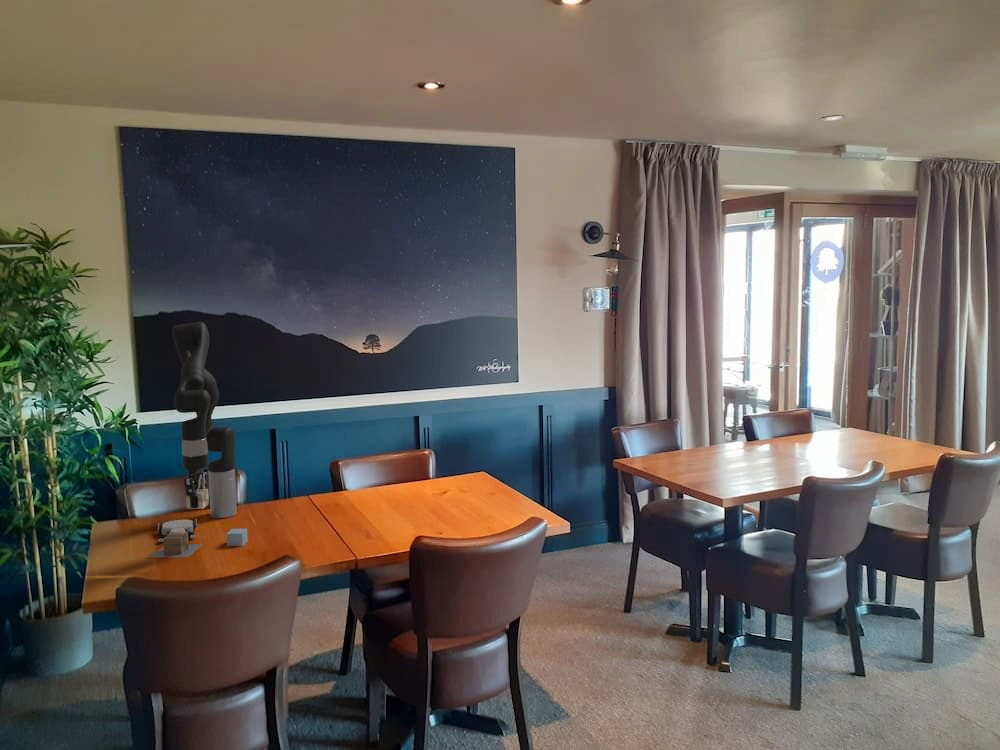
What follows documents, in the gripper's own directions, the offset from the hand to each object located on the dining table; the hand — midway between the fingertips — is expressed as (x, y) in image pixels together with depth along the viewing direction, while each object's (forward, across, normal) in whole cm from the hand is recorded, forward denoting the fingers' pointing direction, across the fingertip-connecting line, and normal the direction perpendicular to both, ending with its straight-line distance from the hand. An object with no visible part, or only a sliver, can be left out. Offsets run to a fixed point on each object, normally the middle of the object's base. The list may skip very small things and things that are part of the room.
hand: (197, 504), depth 237 cm
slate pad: (+15, +1, -7) cm, 17 cm away
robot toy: (+16, -14, -13) cm, 24 cm away
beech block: (0, 0, 0) cm, 0 cm away
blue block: (+15, -5, +10) cm, 19 cm away
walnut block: (+14, +1, -7) cm, 16 cm away
